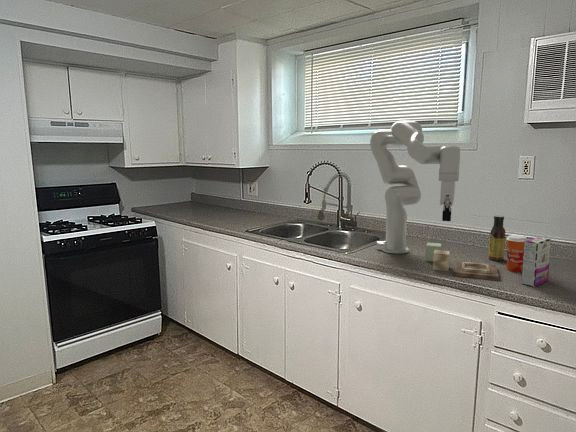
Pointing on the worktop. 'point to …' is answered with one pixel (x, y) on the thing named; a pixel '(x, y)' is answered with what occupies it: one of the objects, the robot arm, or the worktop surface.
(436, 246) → the sage block
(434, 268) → the maple block
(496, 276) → the base plate
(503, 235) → the sauce bottle
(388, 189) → the robot arm
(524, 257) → the candy bar box
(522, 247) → the paper cup
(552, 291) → the worktop surface
